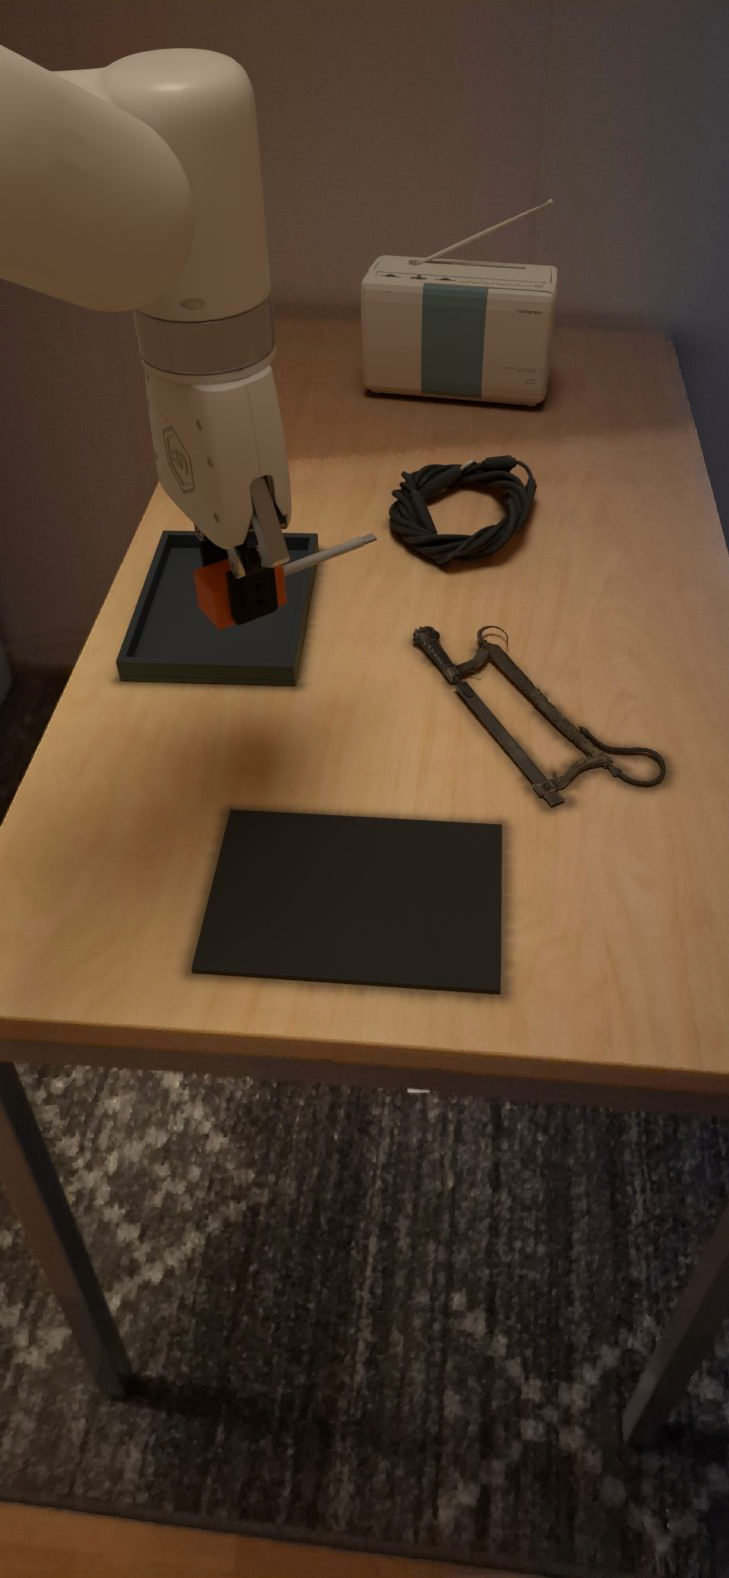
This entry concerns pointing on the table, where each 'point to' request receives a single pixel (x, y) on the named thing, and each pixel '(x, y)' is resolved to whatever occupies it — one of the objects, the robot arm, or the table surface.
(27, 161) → the robot arm
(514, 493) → the cable
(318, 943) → the mat
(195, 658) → the tray
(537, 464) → the table surface
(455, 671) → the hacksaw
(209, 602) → the screwdriver
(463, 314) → the radio
